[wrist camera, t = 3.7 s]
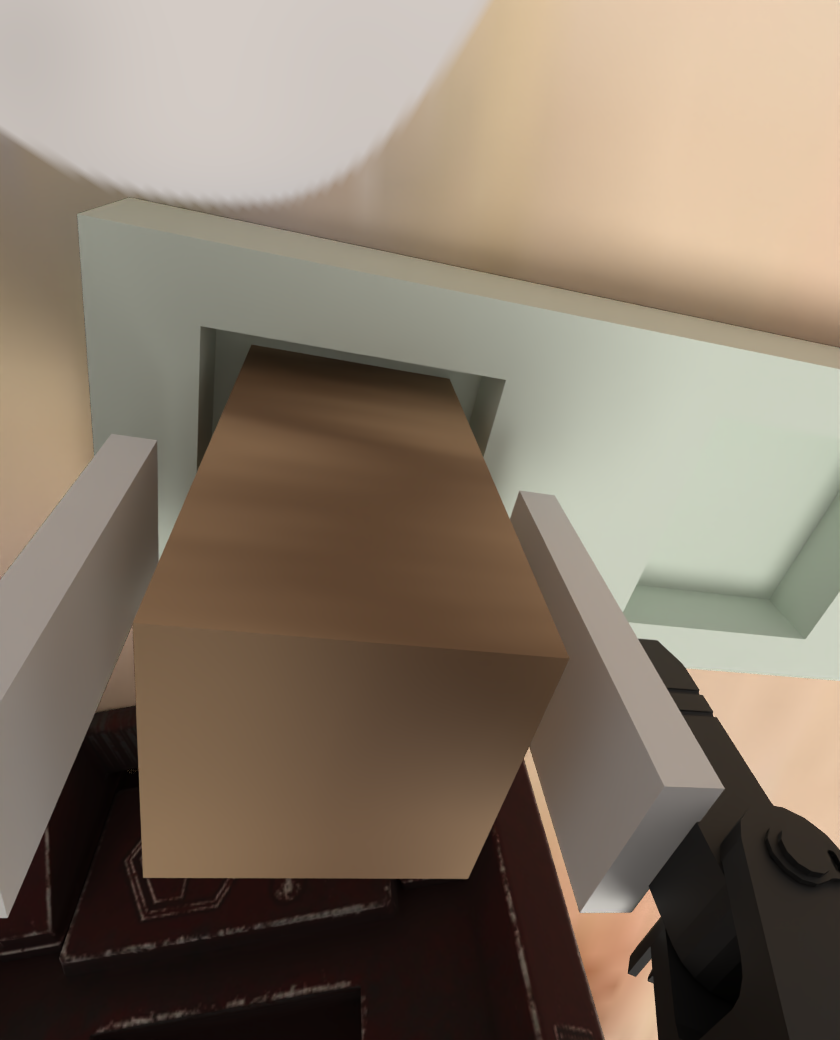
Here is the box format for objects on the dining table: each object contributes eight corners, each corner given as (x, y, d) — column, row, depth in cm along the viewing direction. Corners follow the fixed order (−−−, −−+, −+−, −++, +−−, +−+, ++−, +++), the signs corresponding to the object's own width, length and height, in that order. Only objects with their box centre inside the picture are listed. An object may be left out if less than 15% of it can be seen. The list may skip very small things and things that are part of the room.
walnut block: (239, 516, 16) (142, 877, 8) (251, 344, 13) (131, 623, 6) (411, 536, 17) (467, 878, 9) (449, 378, 14) (570, 658, 7)
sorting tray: (140, 549, 17) (103, 626, 15) (129, 196, 13) (72, 215, 10) (1019, 641, 24) (1106, 706, 21) (1223, 429, 19) (1367, 477, 16)
